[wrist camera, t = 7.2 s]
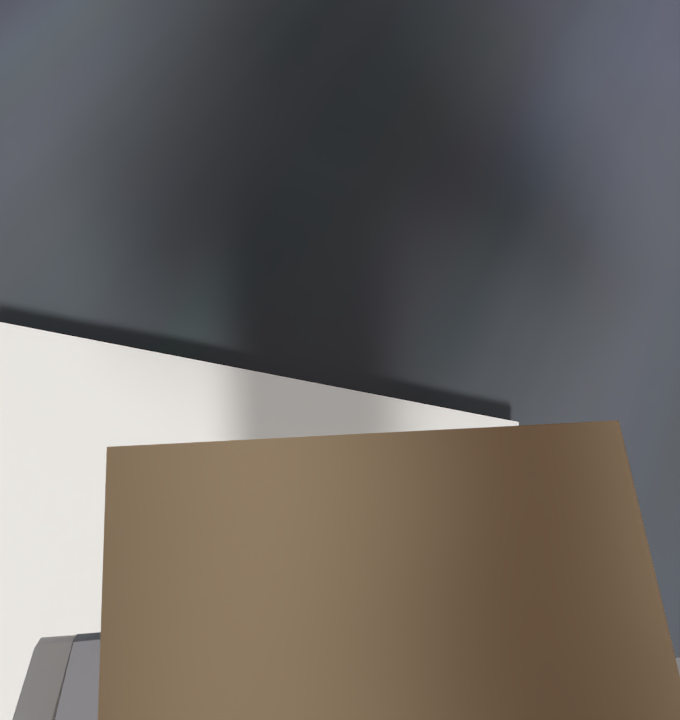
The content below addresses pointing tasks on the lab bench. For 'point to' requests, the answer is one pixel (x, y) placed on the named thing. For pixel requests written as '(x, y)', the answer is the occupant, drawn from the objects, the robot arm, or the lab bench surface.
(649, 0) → the lab bench surface
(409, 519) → the oak block
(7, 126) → the lab bench surface
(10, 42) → the lab bench surface
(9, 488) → the plate
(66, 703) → the robot arm
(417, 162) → the lab bench surface
